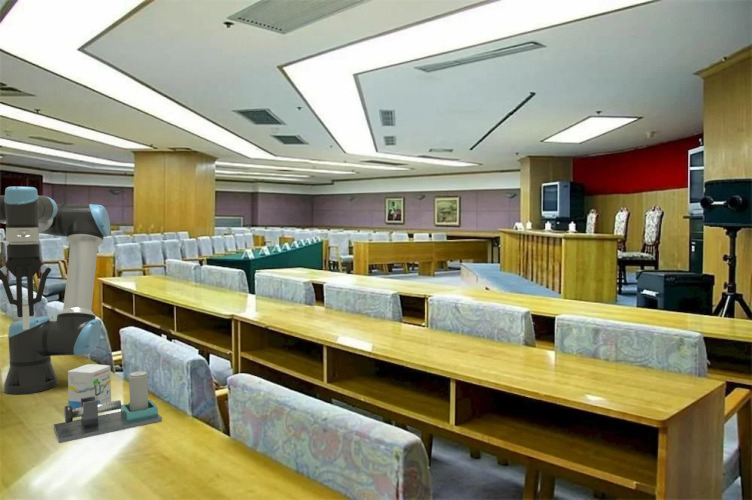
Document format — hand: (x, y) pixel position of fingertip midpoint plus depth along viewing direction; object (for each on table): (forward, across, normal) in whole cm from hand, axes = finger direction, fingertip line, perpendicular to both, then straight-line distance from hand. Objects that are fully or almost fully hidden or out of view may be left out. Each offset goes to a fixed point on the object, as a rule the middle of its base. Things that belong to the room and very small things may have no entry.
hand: (26, 328), depth 149 cm
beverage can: (+26, +26, -15) cm, 39 cm away
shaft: (+24, +14, -15) cm, 31 cm away
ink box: (+27, +16, +5) cm, 32 cm away
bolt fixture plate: (+26, +18, -15) cm, 35 cm away
